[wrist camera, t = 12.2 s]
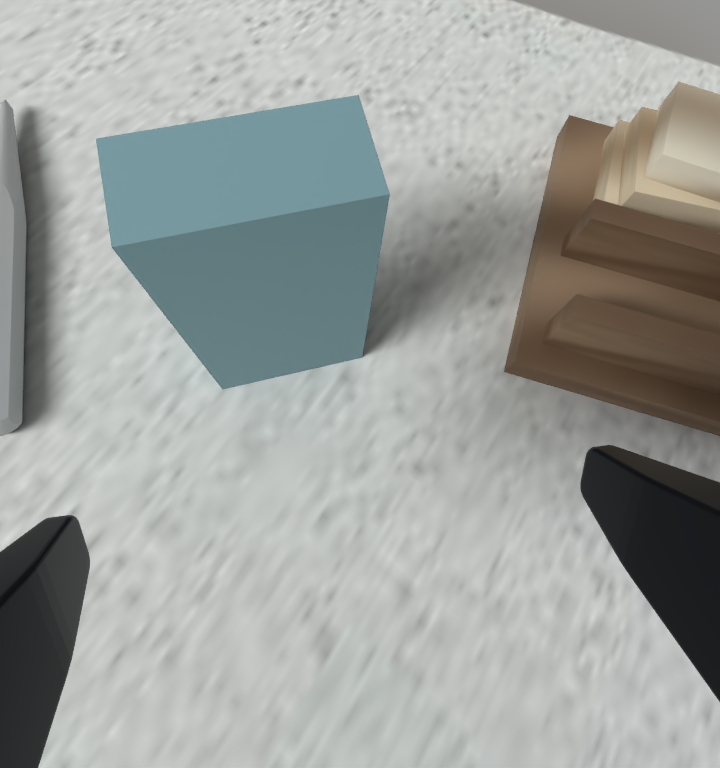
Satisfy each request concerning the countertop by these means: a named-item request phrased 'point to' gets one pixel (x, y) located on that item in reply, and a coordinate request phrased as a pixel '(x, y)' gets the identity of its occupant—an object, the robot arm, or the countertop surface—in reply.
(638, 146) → the block
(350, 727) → the countertop surface
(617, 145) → the offcut bottom
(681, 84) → the offcut top
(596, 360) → the rack
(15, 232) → the tool
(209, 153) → the pale teal tall slab
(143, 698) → the countertop surface
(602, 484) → the robot arm
